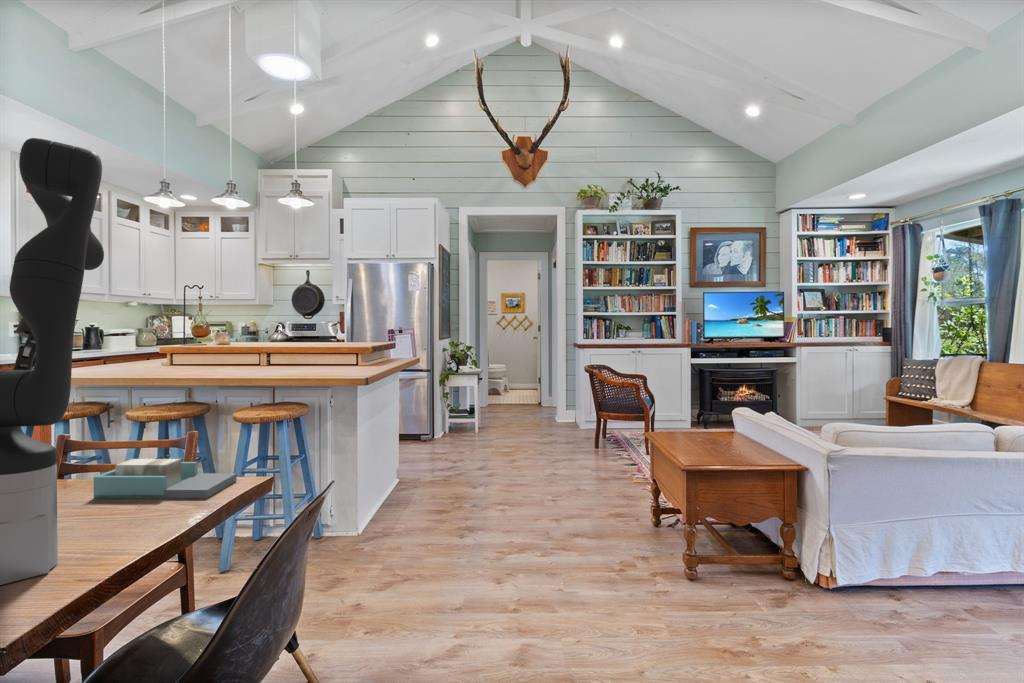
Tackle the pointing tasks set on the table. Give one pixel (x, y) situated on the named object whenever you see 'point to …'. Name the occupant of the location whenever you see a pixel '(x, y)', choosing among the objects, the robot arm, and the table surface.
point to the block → (152, 469)
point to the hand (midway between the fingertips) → (14, 394)
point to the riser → (200, 485)
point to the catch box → (137, 484)
